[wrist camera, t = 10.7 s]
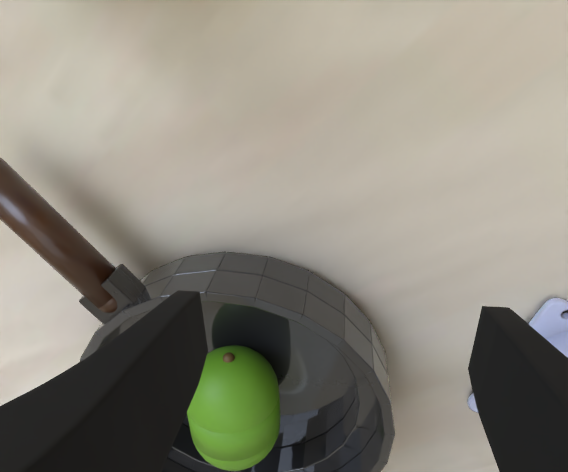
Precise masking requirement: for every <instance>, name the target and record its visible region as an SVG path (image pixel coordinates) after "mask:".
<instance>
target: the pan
mask: <svg viewBox="0 0 568 472" xmlns="http://www.w3.org/2000/svg"><path fill="white" fill-rule="evenodd" d="M140 281H141V282H142V283H143V284H144V285H145V286H146V287H145V288H144V290H143V291H142V292H141V294H140V295H139V296H138V298H137V299H136V301H135V302H134V303H133V304H131V305H128V306H126V307H124V308H123V309H121V310H120V311H119V312H118V313H117V314H115V315H114V316H113V317H112V318H110V319H109V320H108V321H107V322H105V323H104V324H103V323H102V324H101V326H100V327H99V328H98V329H97V331H96V332H95V333H94V335H93V337H92V339H91V340H90V342H89V344H88V346H87V347H86V349H85V351H84V353H83V354H82V356H81V359H80V362H81V361H82V360H84V359H85V358H87V357H88V356H90V355H91V354H93V353H94V352H96V351H97V350H98V349H100V348H101V347H103V346H104V345H106V344H107V343H108V342H110V341H111V340H113V339H114V338H116V337H117V336H119V335H120V334H121V333H123V332H124V331H125V330H127V329H128V328H129V327H130V326H132V325H133V324H134V323H136V322H137V321H138V320H140V319H141V318H142V317H144V316H145V315H146V314H147V313H149V312H150V311H151V310H153V309H154V308H155V307H156V306H158V305H159V304H160V303H162V302H163V301H164V300H165V299H167V298H168V297H169V296H171V295H172V294H173V293H175V292H176V291H178V290H181V291H200V297H201V304H202V311H203V318H204V325H205V332H206V339H207V346H208V353H209V352H211V351H213V350H215V349H217V348H220V347H224V346H230V345H239V346H245V347H248V348H250V349H252V350H254V351H256V352H258V353H260V354H261V355H262V356H263V357H264V358H265V359H266V360H267V361H268V362H269V363H270V364H271V366H272V368H273V370H274V372H275V374H276V376H277V381H278V386H279V397H280V430H279V434H278V437H277V440H276V442H275V444H274V446H273V448H272V450H271V451H270V452H269V453H268V455H267V456H266V457H265V458H264V459H262V460H261V461H260V462H259V463H258V464H256V465H254V466H252V467H250V468H247V469H245V470H239V471H227V470H222V469H220V468H217V467H215V466H213V465H211V464H210V463H208V462H207V461H206V460H205V459H204V458H203V457H202V456H201V455H200V453H199V452H198V451H197V449H196V447H195V445H194V442H193V440H192V436H191V432H190V426H189V421H188V416H187V413H186V415H185V418H184V420H183V422H182V424H181V427H180V429H179V431H178V434H177V436H176V438H175V441H174V443H173V445H172V448H171V450H170V452H169V455H168V457H167V459H166V461H165V464H164V467H163V469H162V472H381V471H382V469H383V468H384V466H385V465H386V464H387V462H388V459H389V455H390V451H391V447H392V444H393V440H394V436H395V429H394V420H393V411H392V403H391V394H390V385H389V377H388V369H387V361H386V354H385V350H384V348H383V346H382V344H381V342H380V340H379V338H378V336H377V334H376V332H375V330H374V328H373V326H372V324H371V322H370V320H369V319H368V318H367V317H366V316H365V315H364V314H363V313H362V312H361V311H360V309H359V308H358V307H357V306H356V305H355V304H354V303H353V302H352V301H351V300H350V299H349V298H348V297H347V296H346V294H344V293H343V292H342V291H340V290H338V289H337V288H335V287H334V286H332V285H331V284H329V283H327V282H326V281H324V280H323V279H321V278H320V277H318V276H317V275H315V274H313V273H312V272H309V270H306V269H303V268H300V267H298V266H295V265H292V264H289V263H286V262H283V261H281V260H278V259H275V258H272V257H267V256H259V255H250V254H242V253H233V252H227V253H226V252H218V253H210V254H202V255H193V256H187V257H184V258H181V259H179V260H176V261H174V262H171V263H169V264H166V265H164V266H161V267H159V268H157V269H154V270H152V271H151V272H150V273H148V274H147V275H146V276H145V277H144V278H142V279H141V280H140ZM208 353H207V354H208Z"/></svg>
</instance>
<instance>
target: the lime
mask: <svg viewBox="0 0 568 472" xmlns="http://www.w3.org/2000/svg"><path fill="white" fill-rule="evenodd" d="M187 416H188V421H189V426H190V432H191V436H192V440H193V442H194V445H195V447H196V449H197V451H198V452H199V453H200V455H201V456H202V457H203V458H204V459H205V460H206V461H207V462H208V463H210V464H211V465H213V466H215V467H217V468H220V469H222V470H227V471H239V470H245V469H247V468H250V467H252V466H254V465H256V464H258V463H259V462H260V461H261V460H262V459H264V458H265V457H266V456H267V455H268V453H269V452H270V451H271V450H272V448H273V446H274V444H275V442H276V440H277V437H278V434H279V430H280V397H279V386H278V381H277V376H276V374H275V372H274V370H273V368H272V366H271V364H270V363H269V362H268V361H267V360H266V359H265V358H264V357H263V356H262V355H261V354H260V353H258V352H256V351H254V350H252V349H250V348H248V347H245V346H239V345H230V346H224V347H220V348H217V349H215V350H213V351H211V352H209V353H208V354H207V356H206V360H205V364H204V367H203V371H202V374H201V378H200V381H199V384H198V387H197V389H196V392H195V394H194V396H193V399H192V401H191V404H190V406H189V408H188V411H187Z"/></svg>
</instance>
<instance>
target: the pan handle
mask: <svg viewBox="0 0 568 472" xmlns="http://www.w3.org/2000/svg"><path fill="white" fill-rule="evenodd" d="M0 220H2V221H3V222H4V223H5V224H6V225H7V226H8V227H9V228H10V229H11V230H12V231H14V232H15V233H16V234H17V235H18V236H19V237H20V238H21V239H22V240H23V241H25V242H26V243H27V244H28V245H29V246H30V247H31V248H32V249H33V250H34V251H35V252H37V253H38V254H39V255H40V256H41V257H42V258H43V259H44V260H45V261H46V262H47V263H49V264H50V265H51V266H52V267H53V268H54V269H55V270H56V271H57V272H58V273H60V274H61V275H62V276H63V277H64V278H65V279H66V280H67V281H68V282H69V283H70V284H72V285H73V286H74V287H75V288H76V289H77V290H78V291H79V292H80V293H81V294H82V295H84V296H83V297H82V298H81V299H80V300H79V302H80V303H81V304H82V305H83V306H84V307H85V308H86V309H87V310H89V311H90V312H91V313H92V314H93V315H94V316H95V317H96V318H97V319H98V320H100V321H101V322H102V323H103V324H104V323H105V322H107V321H108V320H109V319H110V318H112V317H113V316H114V315H115V314H117V313H118V312H119V311H120V310H121V309H123V308H124V307H126V306H128V305H131V304H133V303H134V302H135V301H136V299H137V298H138V296H139V295H140V294H141V292H142V291H143V290H144V288H145V287H146V286H145V285H144V284H143V283H142V282H141V281H140V280H139V279H138V278H136V277H135V276H134V275H133V274H132V273H131V272H130V271H129V270H128V269H127V268H126V267H125V266H124V265H123V264H120V265H119V266H118V267H116V268H115V267H114V266H113V265H112V264H111V263H110V262H109V261H108V260H107V259H106V258H105V257H103V256H102V255H101V254H100V253H99V252H98V251H97V250H96V249H95V248H94V247H93V246H92V245H91V244H90V243H89V242H88V241H87V240H86V239H85V238H84V237H83V236H82V235H81V234H80V233H79V232H78V231H77V230H76V229H75V228H73V227H72V226H71V225H70V224H69V223H68V222H67V221H66V220H65V219H64V218H63V217H62V216H61V215H60V214H59V213H58V212H57V211H56V210H55V209H54V208H53V207H52V206H51V205H50V204H49V203H48V202H47V201H46V200H45V199H43V198H42V197H41V196H40V195H39V194H38V193H37V192H36V191H35V190H34V189H33V188H32V187H31V186H30V185H29V184H28V183H27V182H26V181H25V180H24V179H23V178H22V177H21V176H20V175H19V174H18V173H17V172H16V171H15V170H13V169H12V168H11V167H10V166H9V165H8V164H7V163H6V162H5V161H4V160H3V159H2V158H0Z"/></svg>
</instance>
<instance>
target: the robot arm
mask: <svg viewBox="0 0 568 472" xmlns="http://www.w3.org/2000/svg"><path fill="white" fill-rule="evenodd" d="M565 310H568V301H566V300H564V299H561V298H552V299H550V300H548V301H546V302H545V303H544V304H543V306H542V307H541V308H540V309H539V311H538V312H537V313H536V314H535V316H534V317H533V318H532V319H531V321H530V322H529V323H527V322H525V321H524V320H523V319H522V318H521V317H520V316H518V315H517V314H516V313H515V312H513V311H512V310H511V309H510V308H506V307H487V306H482V310H481V314H480V319H479V323H478V328H477V332H476V336H475V341H474V345H473V350H472V354H471V358H470V363H469V367H468V370H469V375H470V380H471V385H472V390H473V393H472V394H471V395H470V397H469V398H468V400H467V402H468V406H469V408H470V409H471V410H472V411H475V412H478V413H479V416H480V418H481V421H482V424H483V427H484V430H485V433H486V435H487V438H488V441H489V444H490V446H491V449H492V452H493V455H494V457H495V460H496V463H497V466H498V468H499V471H500V472H568V312H567V313H564V314H562V312H563V311H565ZM207 353H208V346H207V339H206V332H205V325H204V318H203V311H202V304H201V297H200V291H181V290H178V291H176V292H175V293H173V294H172V295H171V296H169V297H168V298H167V299H165V300H164V301H163V302H162V303H160V304H159V305H158V306H156V307H155V308H154V309H153V310H151V311H150V312H149V313H147V314H146V315H145V316H144V317H142V318H141V319H140V320H138V321H137V322H136V323H134V324H133V325H132V326H130V327H129V328H128V329H127V330H125V331H124V332H123V333H121V334H120V335H119V336H117V337H116V338H114V339H113V340H111V341H110V342H108V343H107V344H106V345H104V346H103V347H101V348H100V349H98V350H97V351H96V352H94V353H93V354H91V355H90V356H88V357H87V358H85V359H84V360H82V361H81V362H79V363H78V364H76V365H74V366H73V367H71V368H70V369H68V370H66V371H65V372H63V373H61V374H60V375H58V376H56V377H54V378H53V379H51V380H49V381H48V382H46V383H44V384H42V385H41V386H39V387H37V388H35V389H33V390H31V391H29V392H27V393H25V394H23V395H21V396H19V397H17V398H15V399H14V400H12V401H10V402H8V403H6V404H4V405H2V406H0V472H162V469H163V467H164V464H165V461H166V459H167V457H168V455H169V452H170V450H171V448H172V445H173V443H174V441H175V438H176V436H177V434H178V431H179V429H180V427H181V424H182V422H183V420H184V418H185V415H186V413H187V411H188V408H189V406H190V404H191V401H192V399H193V396H194V394H195V392H196V389H197V387H198V384H199V381H200V378H201V374H202V371H203V367H204V364H205V360H206V356H207Z"/></svg>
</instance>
